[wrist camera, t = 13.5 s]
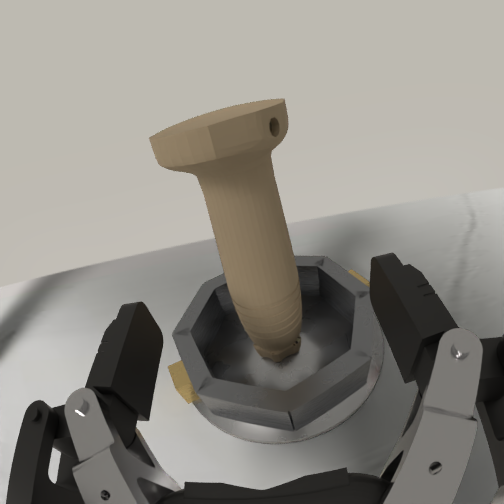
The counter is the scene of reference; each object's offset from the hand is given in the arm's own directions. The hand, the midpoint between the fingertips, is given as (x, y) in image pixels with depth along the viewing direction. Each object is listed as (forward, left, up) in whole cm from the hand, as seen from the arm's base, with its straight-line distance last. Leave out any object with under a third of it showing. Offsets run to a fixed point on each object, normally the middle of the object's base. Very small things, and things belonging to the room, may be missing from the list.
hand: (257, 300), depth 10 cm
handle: (+2, +5, -10) cm, 11 cm away
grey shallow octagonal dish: (+2, +5, -10) cm, 11 cm away
